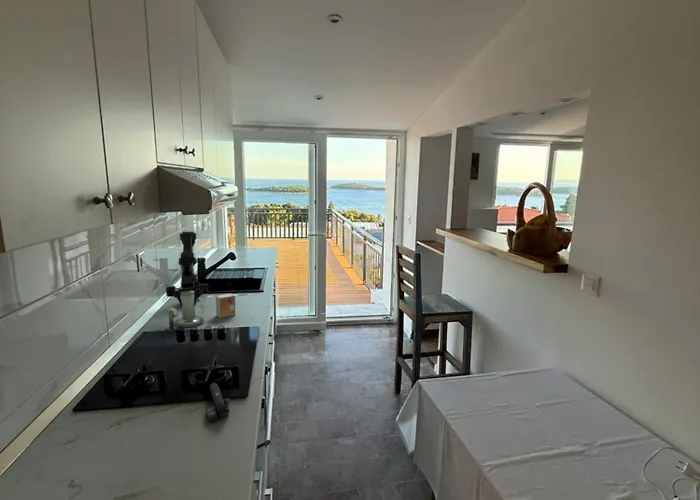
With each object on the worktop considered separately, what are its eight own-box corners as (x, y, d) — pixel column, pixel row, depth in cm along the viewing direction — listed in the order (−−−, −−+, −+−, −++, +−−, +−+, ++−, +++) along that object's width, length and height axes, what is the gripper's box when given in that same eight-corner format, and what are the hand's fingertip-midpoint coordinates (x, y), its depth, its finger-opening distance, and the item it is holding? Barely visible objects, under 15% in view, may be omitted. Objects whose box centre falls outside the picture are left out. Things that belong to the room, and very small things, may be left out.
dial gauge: (172, 332, 170) (170, 310, 168) (164, 330, 172) (162, 308, 170) (179, 329, 174) (178, 307, 172) (171, 327, 176) (170, 306, 174)
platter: (193, 316, 191) (193, 313, 191) (209, 322, 184) (209, 319, 184) (168, 323, 180) (168, 321, 180) (184, 330, 173) (184, 327, 173)
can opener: (232, 420, 109) (231, 403, 108) (206, 426, 107) (205, 408, 106) (225, 389, 125) (225, 374, 124) (203, 394, 123) (202, 378, 122)
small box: (220, 318, 188) (219, 298, 187) (216, 315, 193) (215, 295, 191) (235, 315, 193) (235, 295, 192) (231, 312, 198) (230, 292, 196)
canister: (190, 315, 186) (189, 289, 183) (198, 317, 183) (196, 291, 180) (179, 318, 181) (178, 292, 179) (187, 321, 178) (185, 294, 175)
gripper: (164, 270, 178) (164, 299, 170) (207, 267, 184) (208, 296, 176) (167, 282, 187) (166, 310, 178) (208, 279, 193) (209, 307, 185)
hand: (188, 305), depth 179 cm, fingers closed on canister, 5 cm apart
